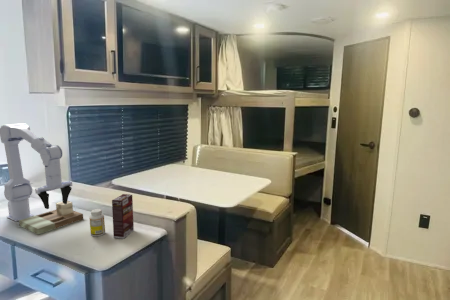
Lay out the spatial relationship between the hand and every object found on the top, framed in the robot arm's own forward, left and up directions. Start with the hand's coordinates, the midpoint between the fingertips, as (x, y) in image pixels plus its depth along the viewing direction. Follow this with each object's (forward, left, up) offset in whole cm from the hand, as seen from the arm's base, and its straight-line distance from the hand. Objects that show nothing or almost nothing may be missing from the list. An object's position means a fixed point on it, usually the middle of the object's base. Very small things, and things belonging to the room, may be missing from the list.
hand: (56, 205), depth 134 cm
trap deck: (-8, +2, -10) cm, 13 cm away
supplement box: (+29, +12, -10) cm, 33 cm away
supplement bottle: (+20, +6, -10) cm, 23 cm away
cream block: (-8, +8, -7) cm, 13 cm away
